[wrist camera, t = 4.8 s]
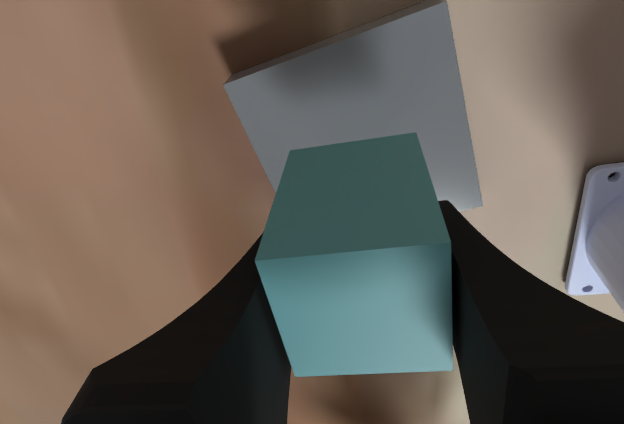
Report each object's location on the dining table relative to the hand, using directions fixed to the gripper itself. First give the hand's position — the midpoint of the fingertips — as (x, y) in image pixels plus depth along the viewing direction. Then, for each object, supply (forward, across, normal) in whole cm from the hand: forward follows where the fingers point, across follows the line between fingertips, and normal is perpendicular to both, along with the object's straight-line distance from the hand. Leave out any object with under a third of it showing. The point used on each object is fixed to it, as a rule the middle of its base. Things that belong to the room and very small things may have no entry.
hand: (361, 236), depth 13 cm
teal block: (+2, 0, 0) cm, 2 cm away
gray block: (+8, 0, 0) cm, 8 cm away
